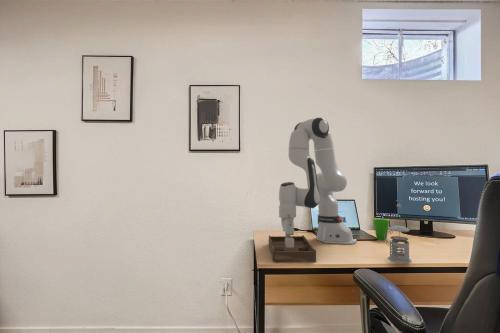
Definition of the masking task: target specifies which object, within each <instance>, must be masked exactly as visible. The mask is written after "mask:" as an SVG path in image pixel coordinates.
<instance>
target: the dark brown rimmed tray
mask: <svg viewBox="0 0 500 333" xmlns="http://www.w3.org/2000/svg"><path fill="white" fill-rule="evenodd" d="M285 238H286V236H284V235H283V236H273V235H268V247H269V251H270V254H271V260H272V263H317V250H316V248H315V247H314V246H313V244H311V243H310V242H309V240H308V239H307V238H306V237H305V235H301V236H298V235H297V236H295V235H290V238H293V239H294V248H286V247H285Z"/></svg>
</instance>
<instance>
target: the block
mask: <svg viewBox="0 0 500 333" xmlns="http://www.w3.org/2000/svg"><path fill="white" fill-rule="evenodd" d="M285 247H286V248H294V239H293V238H285Z"/></svg>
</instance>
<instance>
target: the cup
mask: <svg viewBox="0 0 500 333" xmlns="http://www.w3.org/2000/svg"><path fill="white" fill-rule="evenodd" d="M372 221H373V227H374V231H375V238H376V239H377V240H379V241H387V238H388V234H387V233H388V232H387V231H389V224H390V220H389V219H384V218H374V219H373V220H372ZM386 232H387V233H386ZM385 233H386V235H385ZM384 236H385V238H384Z"/></svg>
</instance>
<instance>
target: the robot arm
mask: <svg viewBox="0 0 500 333" xmlns="http://www.w3.org/2000/svg"><path fill="white" fill-rule="evenodd" d="M310 140H312V142H313V150H314V151H313V152H314V158H315V161H314V159H313V158H312V157H311V155H310ZM288 159H289V161H290V163H292V164H293V165H294V166H297V167H299V168H301V169H302V170H304V172H305V174H306V184H307V188H302V187H300V188H299V187H297V186H296V185H295V183H294V182H293V181H291V182H290V181H288V182H282V183H281V184H280V186H279V189H278V190H279V191H278V200H279V206H278V215H279V216H278V217H279V218H281V220H280V221H281V228H282V229H283V232H284V234H285V236H286V238H290V236H295V235H294V234H295V227H294V226H295V224H294V220H295V219H296V218H297V207H302V208H303V207H304V208H307V209H308V208H309V209H314V208H316V207H317V206H318V215H317V225H318V226H317V231H316V232H317V233H316V237H315V240H317V241H319V242H322V243H325V244H338V245H354V244H356V243H357V238H356V239H353V236H354V235H353V232H352V230H351V228H350V227H348V226H347V225H346V224H344V222H342V220H343V216H340V215H339V203H338V200H337V199H336V197H335V195H334V193H338V192H342V191H344V190H345V189H346V187H347V183H348V182H347V178H346V177H345V175H343V173H342V172H341V171H340V169H339V167H338V164H337V161H336V154H335V149H334V141H333V139H332V135H331V133H330V125H329V122H328V121H327V119H325V118H324V117H316V118H310V119H307V120H304V121H302V122H299V123H297V124H295V126H294V128H293V131H292V132H291V134H290V138H289V142H288ZM316 165H317V167H319V169H320V171H321V172H319V173H318V172H317V170H316V168H317V167H316Z"/></svg>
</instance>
